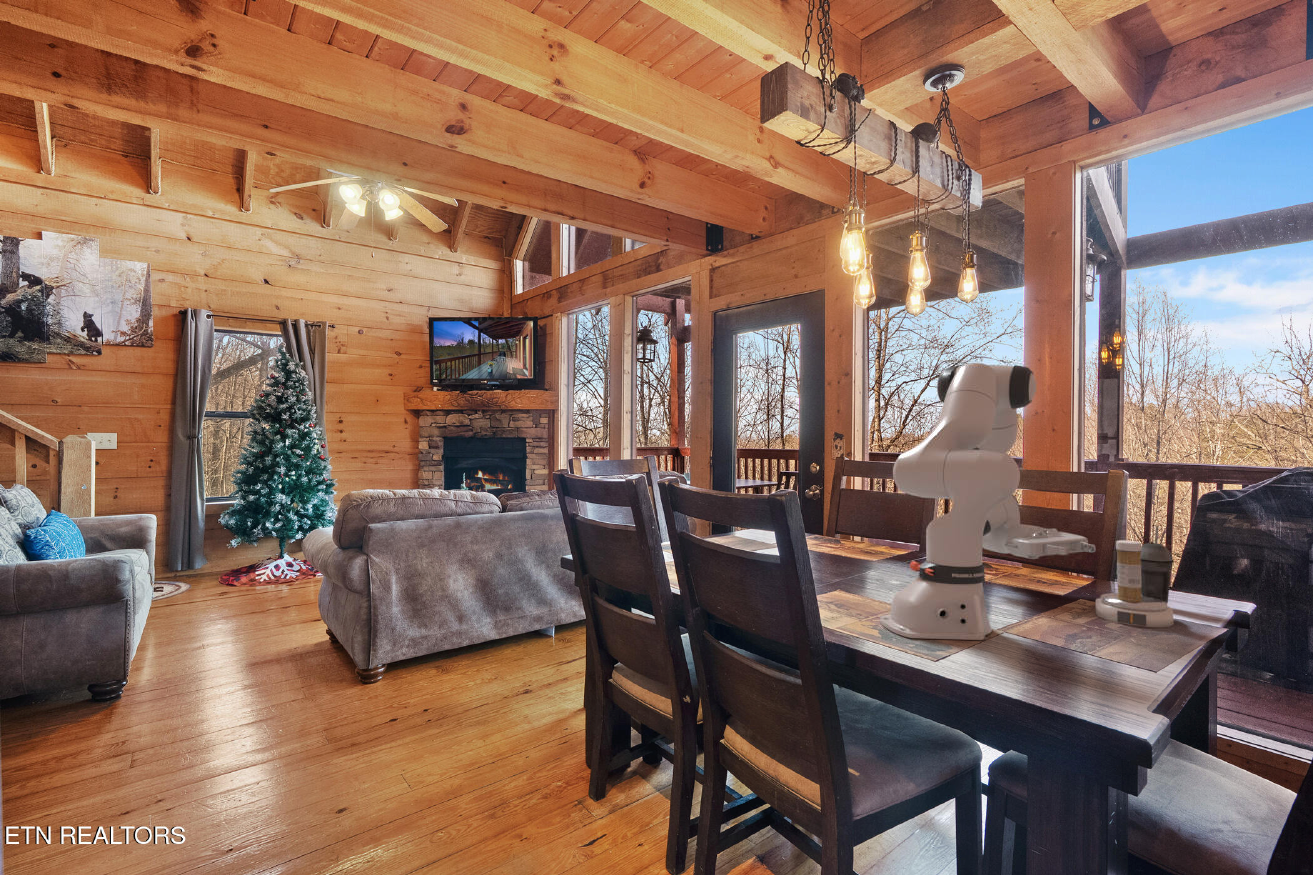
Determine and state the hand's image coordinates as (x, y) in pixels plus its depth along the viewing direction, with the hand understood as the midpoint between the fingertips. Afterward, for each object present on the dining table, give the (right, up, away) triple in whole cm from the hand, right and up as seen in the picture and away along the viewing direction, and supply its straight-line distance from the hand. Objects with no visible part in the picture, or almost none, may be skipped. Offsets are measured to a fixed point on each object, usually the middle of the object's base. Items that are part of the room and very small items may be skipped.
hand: (1080, 550), depth 151 cm
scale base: (+4, -13, -12) cm, 18 cm away
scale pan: (+4, -10, -12) cm, 16 cm away
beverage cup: (+16, -14, -2) cm, 22 cm away
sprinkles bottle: (+3, -10, -12) cm, 15 cm away
